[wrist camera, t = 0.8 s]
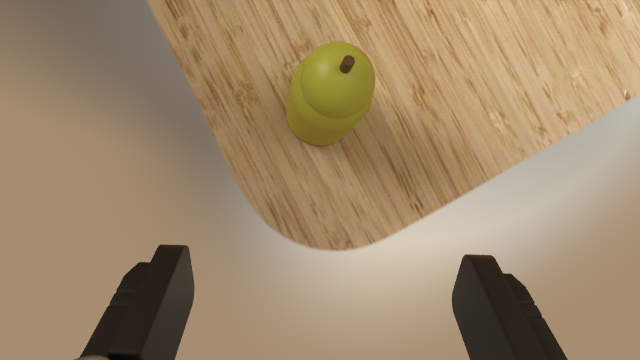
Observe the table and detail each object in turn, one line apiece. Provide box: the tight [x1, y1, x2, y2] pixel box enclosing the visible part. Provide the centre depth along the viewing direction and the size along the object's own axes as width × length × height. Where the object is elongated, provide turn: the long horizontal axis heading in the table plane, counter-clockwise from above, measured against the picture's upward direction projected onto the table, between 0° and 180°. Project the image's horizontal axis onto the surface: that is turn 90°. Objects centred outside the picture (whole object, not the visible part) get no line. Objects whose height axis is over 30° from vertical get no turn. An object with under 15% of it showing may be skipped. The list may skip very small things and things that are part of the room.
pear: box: [285, 42, 375, 146], centre depth 26 cm, size 5×5×10 cm
